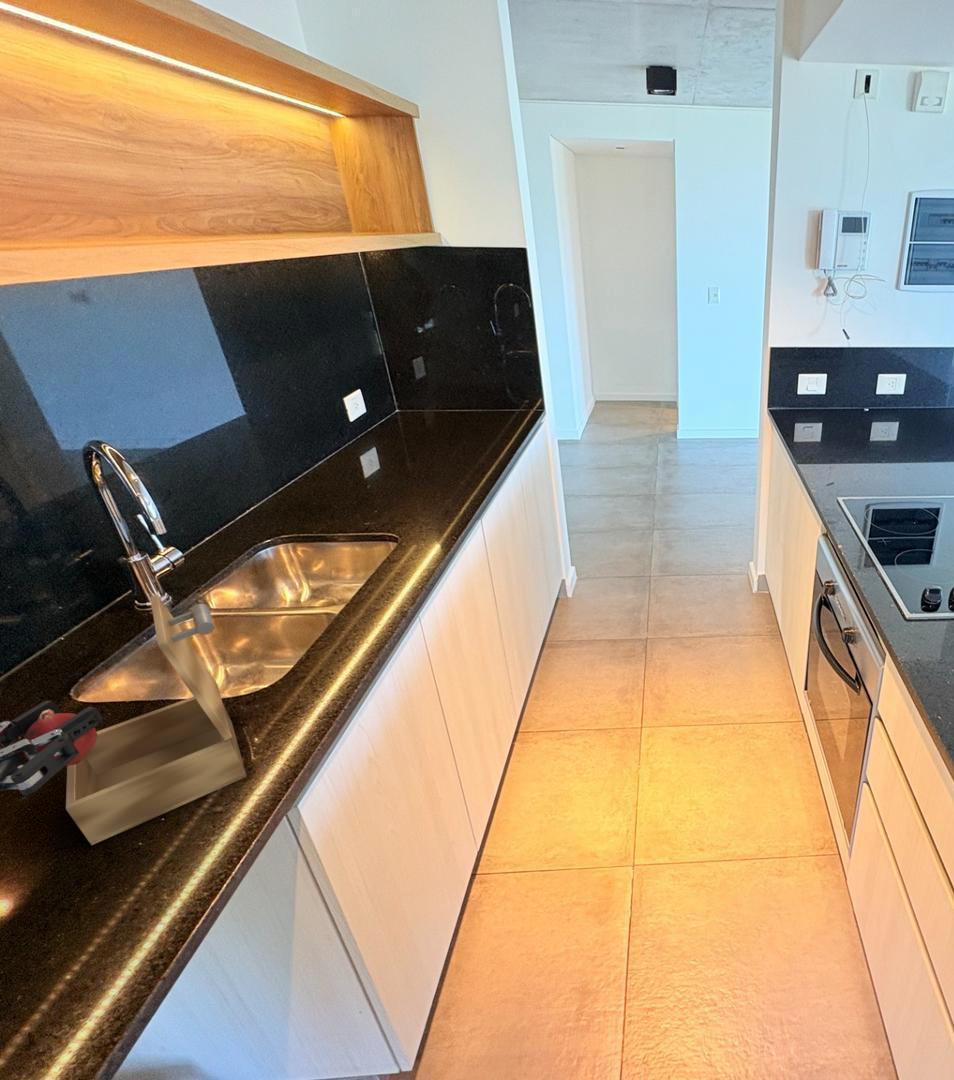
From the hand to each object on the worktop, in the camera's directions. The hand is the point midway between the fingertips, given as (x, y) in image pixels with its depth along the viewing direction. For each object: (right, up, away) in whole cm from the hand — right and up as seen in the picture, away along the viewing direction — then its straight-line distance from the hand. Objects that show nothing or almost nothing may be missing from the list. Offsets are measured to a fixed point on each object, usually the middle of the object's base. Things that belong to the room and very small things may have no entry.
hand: (75, 710), depth 72 cm
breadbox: (+1, -12, +11) cm, 16 cm away
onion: (-1, -7, +1) cm, 7 cm away
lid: (+7, +3, +8) cm, 11 cm away
